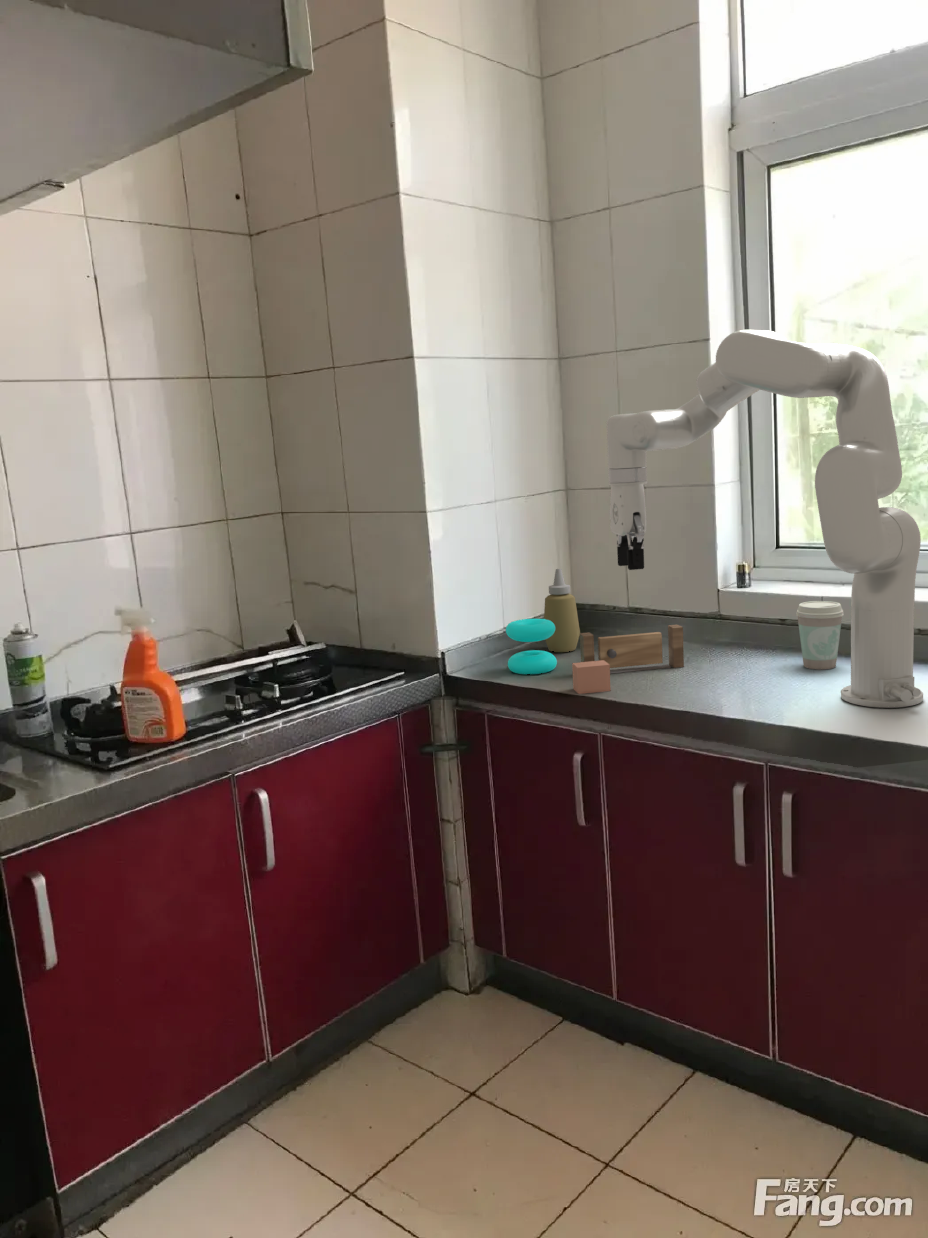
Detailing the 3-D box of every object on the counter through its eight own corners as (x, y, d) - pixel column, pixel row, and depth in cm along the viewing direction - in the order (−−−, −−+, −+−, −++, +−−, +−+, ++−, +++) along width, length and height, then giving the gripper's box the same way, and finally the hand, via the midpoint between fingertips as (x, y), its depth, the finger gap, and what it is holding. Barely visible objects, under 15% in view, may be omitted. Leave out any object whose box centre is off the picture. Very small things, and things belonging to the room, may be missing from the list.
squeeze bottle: (538, 649, 222) (534, 569, 218) (571, 644, 224) (568, 565, 221) (552, 655, 214) (548, 572, 211) (586, 651, 216) (583, 569, 213)
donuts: (539, 627, 193) (495, 625, 199) (541, 677, 195) (498, 673, 201) (563, 618, 201) (521, 616, 207) (566, 666, 203) (524, 663, 209)
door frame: (683, 666, 196) (682, 627, 195) (585, 676, 194) (583, 636, 192) (678, 663, 199) (677, 624, 198) (581, 673, 197) (579, 633, 195)
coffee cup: (798, 671, 187) (797, 608, 185) (794, 661, 195) (794, 601, 193) (846, 671, 185) (846, 607, 183) (840, 661, 193) (840, 600, 191)
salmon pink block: (610, 691, 182) (609, 664, 181) (578, 694, 181) (577, 667, 180) (604, 686, 186) (603, 660, 185) (573, 689, 185) (572, 663, 184)
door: (664, 664, 195) (663, 634, 194) (602, 670, 194) (601, 640, 192) (659, 661, 198) (659, 631, 197) (598, 667, 196) (597, 637, 195)
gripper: (597, 477, 205) (601, 564, 208) (622, 479, 188) (625, 574, 191) (632, 474, 206) (635, 561, 209) (660, 477, 189) (663, 570, 192)
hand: (630, 566), depth 200 cm, fingers open, 6 cm apart
